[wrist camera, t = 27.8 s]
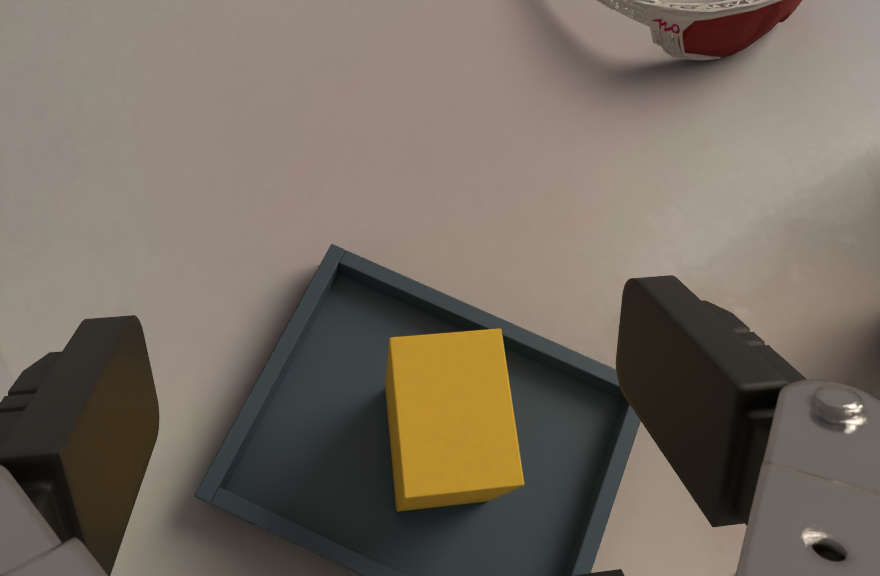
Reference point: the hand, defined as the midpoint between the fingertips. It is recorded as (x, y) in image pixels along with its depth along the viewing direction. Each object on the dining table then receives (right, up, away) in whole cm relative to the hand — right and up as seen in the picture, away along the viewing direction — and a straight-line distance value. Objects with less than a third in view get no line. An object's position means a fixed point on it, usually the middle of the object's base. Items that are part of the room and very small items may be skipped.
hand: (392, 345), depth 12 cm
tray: (0, -7, +24) cm, 25 cm away
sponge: (+1, -7, +23) cm, 24 cm away
